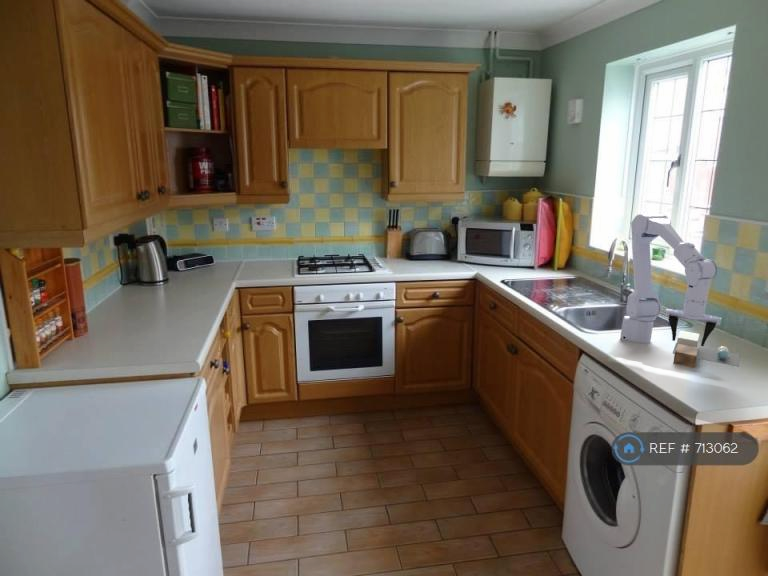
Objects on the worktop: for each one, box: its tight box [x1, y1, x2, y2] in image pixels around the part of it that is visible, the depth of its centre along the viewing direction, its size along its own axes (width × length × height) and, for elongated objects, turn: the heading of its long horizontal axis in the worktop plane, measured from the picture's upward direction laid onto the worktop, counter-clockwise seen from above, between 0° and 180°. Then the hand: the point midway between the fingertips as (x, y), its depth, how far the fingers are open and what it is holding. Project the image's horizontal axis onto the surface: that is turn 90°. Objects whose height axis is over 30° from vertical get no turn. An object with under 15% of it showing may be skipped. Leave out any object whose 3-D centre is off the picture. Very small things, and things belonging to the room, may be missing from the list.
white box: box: [676, 330, 700, 348], centre depth 173 cm, size 6×9×5 cm, turn 147°
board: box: [672, 342, 740, 367], centre depth 171 cm, size 18×12×1 cm, turn 57°
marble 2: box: [717, 349, 728, 359], centre depth 167 cm, size 3×3×3 cm
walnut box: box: [672, 344, 699, 368], centre depth 164 cm, size 6×9×5 cm, turn 147°
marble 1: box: [717, 345, 730, 353], centre depth 170 cm, size 3×3×3 cm
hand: (687, 342), depth 163 cm, fingers open, 7 cm apart
